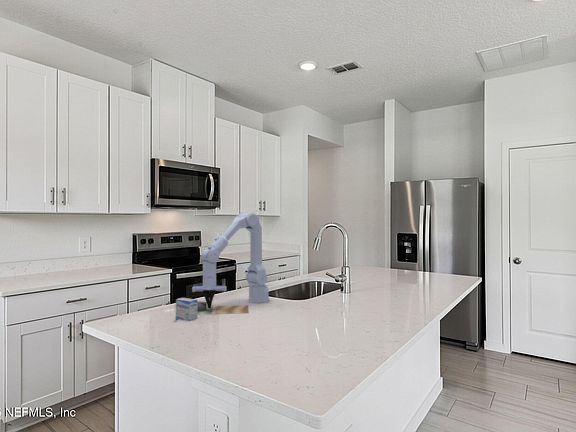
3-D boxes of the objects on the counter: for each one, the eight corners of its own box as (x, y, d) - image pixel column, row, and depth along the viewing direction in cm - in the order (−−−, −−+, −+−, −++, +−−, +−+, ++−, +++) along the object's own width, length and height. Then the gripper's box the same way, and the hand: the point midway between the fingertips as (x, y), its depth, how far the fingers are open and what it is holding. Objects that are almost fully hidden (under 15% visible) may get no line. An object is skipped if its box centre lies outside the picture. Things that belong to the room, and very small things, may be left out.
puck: (207, 308, 168) (207, 301, 168) (205, 311, 162) (205, 304, 162) (193, 308, 168) (194, 301, 168) (191, 311, 162) (191, 304, 162)
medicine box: (175, 320, 152) (175, 299, 152) (183, 318, 156) (183, 297, 156) (190, 323, 148) (190, 301, 148) (197, 320, 152) (197, 299, 152)
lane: (248, 307, 174) (248, 305, 174) (248, 315, 160) (248, 313, 160) (186, 308, 171) (186, 306, 171) (180, 317, 157) (180, 314, 157)
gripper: (191, 278, 160) (191, 310, 160) (225, 277, 162) (225, 309, 162) (193, 275, 167) (193, 306, 167) (226, 275, 169) (226, 305, 169)
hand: (209, 307), depth 165 cm, fingers closed
